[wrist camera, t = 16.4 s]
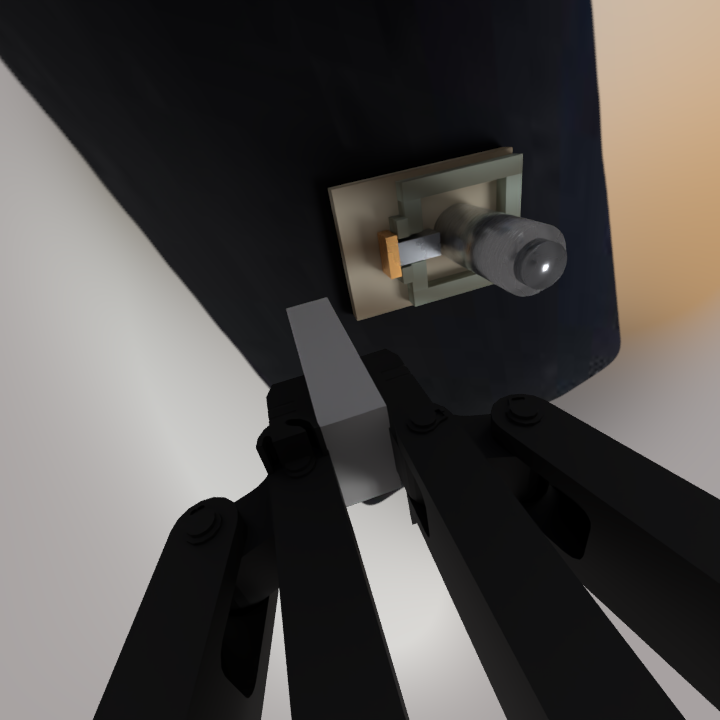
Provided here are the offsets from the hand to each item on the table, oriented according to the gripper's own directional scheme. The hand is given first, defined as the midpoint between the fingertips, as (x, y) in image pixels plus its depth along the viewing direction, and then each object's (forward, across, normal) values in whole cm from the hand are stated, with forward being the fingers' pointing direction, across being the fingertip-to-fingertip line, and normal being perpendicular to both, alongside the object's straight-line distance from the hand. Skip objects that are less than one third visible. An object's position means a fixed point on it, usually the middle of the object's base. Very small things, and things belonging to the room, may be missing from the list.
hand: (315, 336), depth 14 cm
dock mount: (+22, +13, -4) cm, 26 cm away
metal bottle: (+21, +16, -4) cm, 27 cm away
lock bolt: (+20, +11, -4) cm, 24 cm away
